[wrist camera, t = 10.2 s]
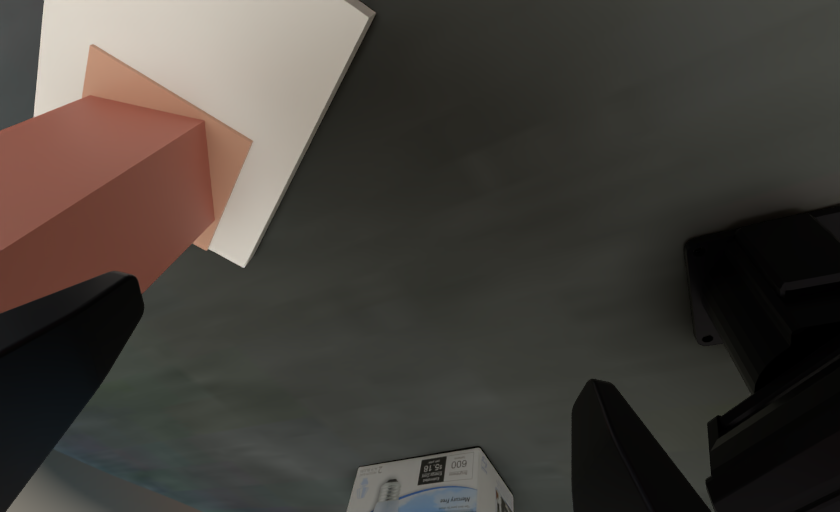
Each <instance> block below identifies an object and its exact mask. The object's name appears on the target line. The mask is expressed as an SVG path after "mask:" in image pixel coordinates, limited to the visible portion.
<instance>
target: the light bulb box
mask: <svg viewBox="0 0 840 512" xmlns="http://www.w3.org/2000/svg"><path fill="white" fill-rule="evenodd" d="M347 512H513V495H512V493H511V492H510V491H509V489H508V488H507V486H506V485H505V483H504V482H503V480H502V479H501V477H500V476H499V475H498V473H497V472H496V470H495V469H494V467H493V466H492V464H491V463H490V461H489V460H488V458H487V457H486V456H485V454H484V453H483V451H482V450H481V449H480V448H473V449H467V450H461V451H454V452H448V453H443V454H437V455H430V456H424V457H418V458H412V459H406V460H400V461H394V462H387V463H381V464H375V465H369V466H363V467H359V468H358V472H357V475H356V479H355V483H354V486H353V490H352V493H351V497H350V501H349V505H348V508H347Z"/></svg>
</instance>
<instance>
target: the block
mask: <svg viewBox="0 0 840 512" xmlns="http://www.w3.org/2000/svg"><path fill="white" fill-rule="evenodd" d="M214 221H215V217H214V207H213V197H212V188H211V178H210V168H209V158H208V148H207V139H206V129H205V121H204V120H200V119H195V118H191V117H186V116H182V115H177V114H173V113H168V112H164V111H159V110H155V109H150V108H146V107H141V106H137V105H132V104H128V103H123V102H119V101H114V100H110V99H105V98H101V97H96V96H92V95H89V96H86V97H84V98H81V99H79V100H76V101H74V102H71V103H69V104H66V105H64V106H61V107H59V108H56V109H54V110H51V111H49V112H46V113H44V114H41V115H39V116H36V117H34V118H31V119H29V120H26V121H24V122H21V123H19V124H16V125H14V126H11V127H8V128H6V129H3V130H1V131H0V313H3V312H5V311H8V310H10V309H13V308H16V307H18V306H21V305H23V304H26V303H29V302H31V301H34V300H37V299H39V298H42V297H44V296H47V295H50V294H52V293H55V292H57V291H60V290H63V289H65V288H68V287H71V286H73V285H76V284H78V283H81V282H84V281H86V280H89V279H91V278H94V277H97V276H99V275H102V274H104V273H107V272H110V271H120V272H124V273H129V274H133V275H135V276H136V277H137V279H138V281H139V285H140V290H141V294H143V293H144V291H145V290H146V289H147V288H148V287H149V286H150V285H151V284H152V283H153V282H154V281H155V280H156V279H157V278H158V277H159V276H160V275H161V274H162V273H163V272H164V271H165V270H166V269H167V268H168V267H169V266H170V265H171V264H172V263H173V262H174V261H175V260H176V259H177V258H178V257H179V256H180V255H181V254H182V253H183V252H184V251H185V250H186V249H187V248H188V247H189V246H190V245H191V244H192V243H193V242H194V241H195V240H196V239H197V238H198V237H199V236H200V235H201V234H202V233H203V232H204V231H205V230H206V229H207V228H208V227H209V226H210V225H211V224H212V223H213V222H214Z"/></svg>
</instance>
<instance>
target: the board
mask: <svg viewBox="0 0 840 512" xmlns="http://www.w3.org/2000/svg"><path fill="white" fill-rule="evenodd" d="M375 14H376V12H374V11H373V10H371V9H370V8H369V7H367V6H366V5H364V4H363V3H362V2H360V1H359V0H44V8H43V20H42V31H41V42H40V53H39V64H38V75H37V86H36V97H35V108H34V117H36V116H39V115H41V114H44V113H46V112H49V111H51V110H54V109H56V108H59V107H61V106H64V105H66V104H69V103H71V102H74V101H76V100H79V99H81V98H84V97H86V96H89V95H92V96H96V97H101V98H105V99H110V100H114V101H119V102H123V103H128V104H132V105H137V106H141V107H146V108H150V109H155V110H159V111H164V112H168V113H173V114H177V115H182V116H186V117H191V118H195V119H200V120H204V121H205V129H206V139H207V148H208V158H209V168H210V178H211V188H212V197H213V207H214V217H215V221H214V222H213V223H212V224H211V225H210V226H209V227H208V228H207V229H206V230H205V231H204V232H203V233H202V234H201V235H200V236H199V237H198V238H197V239H196V240H195V241H194V242H193V244H194V245H196V246H198V247H200V248H202V249H204V250H206V251H207V250H208V249H210V250H212V251H213V252H215V253H217V254H219V255H221V256H223V257H224V258H226V259H228V260H230V261H232V262H234V263H236V264H237V265H239V266H241V267H243V268H245V266H246V265H247V264H248V262H249V261H250V260H251V258H252V257H253V256H254V254H255V252H256V250H257V248H258V246H259V244H260V242H261V240H262V238H263V236H264V234H265V232H266V230H267V228H268V226H269V224H270V222H271V220H272V218H273V216H274V214H275V212H276V210H277V208H278V206H279V204H280V203H281V201H282V199H283V197H284V195H285V193H286V191H287V189H288V187H289V185H290V183H291V181H292V179H293V177H294V175H295V173H296V171H297V169H298V167H299V165H300V163H301V161H302V159H303V157H304V155H305V153H306V151H307V149H308V147H309V145H310V143H311V141H312V139H313V137H314V135H315V133H316V131H317V129H318V127H319V125H320V123H321V121H322V119H323V117H324V115H325V113H326V111H327V109H328V108H329V106H330V104H331V102H332V100H333V98H334V96H335V94H336V92H337V90H338V88H339V86H340V84H341V82H342V80H343V78H344V76H345V74H346V72H347V70H348V68H349V66H350V64H351V62H352V60H353V58H354V56H355V54H356V52H357V50H358V48H359V46H360V44H361V42H362V40H363V38H364V36H365V34H366V32H367V30H368V28H369V26H370V24H371V22H372V20H373V18H374V16H375Z"/></svg>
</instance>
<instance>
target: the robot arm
mask: <svg viewBox="0 0 840 512" xmlns="http://www.w3.org/2000/svg"><path fill="white" fill-rule="evenodd" d="M699 247H702V249H701V250H699V251H697V252H693V251H694V250H695V249H696V248H699ZM684 255H685V263H686V271H687V280H688V288H689V297H690V305H691V314H692V322H693V331H694V336H695V338H696V340H697V342H698V344H700V345H703V346H710V345H716V344H723V343H724V345H725V347H726V349H727V351H728V352H729V354H730V356H731V358H732V360H733V362H734V363H735V365H736V367H737V369H738V371H739V373H740V374H741V376H742V378H743V380H744V382H745V383H746V385H747V387H748V389H749V391H750V393H751V394H752V395H751V396H750V397H748V398H747V399H745V400H744V401H742V402H741V403H740V404H738V405H737V406H735V407H734V408H732V409H731V410H730V411H728V412H727V413H725V414H724V415H722V416H719V415H718V416H716V417H715V418H713V419H712V420H710V421H709V422H708V423H707V426H708V440H709V453H710V466H711V476H710V477H708V478H707V479H706V489H707V492H708V495H709V497H710V500H711V503H712V506H713V509H714V511H715V512H840V206H838V207H833V208H829V209H824V210H820V211H815V212H811V213H804V214H799V215H795V216H790V217H786V218H781V219H777V220H772V221H768V222H763V223H759V224H754V225H750V226H745V227H741V228H739V229H734V230H730V231H725V232H721V233H716V234H712V235H707V236H703V237H699V238H694V239H692V240H690V241H688V242H687V243H686V245H685V246H684ZM143 312H144V302H143V298H142V294H141V290H140V285H139V281H138V279H137V277H136V276H135V275H133V274H129V273H124V272H120V271H110V272H107V273H104V274H102V275H99V276H97V277H94V278H91V279H89V280H86V281H84V282H81V283H78V284H76V285H73V286H71V287H68V288H65V289H63V290H60V291H57V292H55V293H52V294H50V295H47V296H44V297H42V298H39V299H37V300H34V301H31V302H29V303H26V304H23V305H21V306H18V307H16V308H13V309H10V310H8V311H5V312H3V313H0V512H6V511H7V509H8V508H9V507H10V505H11V504H12V503H13V501H14V500H15V499H16V497H17V496H18V495H19V493H20V492H21V491H22V489H23V488H24V487H25V485H26V484H27V483H28V481H29V480H30V479H31V477H32V476H33V475H34V473H35V472H36V471H37V469H38V468H39V467H40V465H41V464H42V463H43V461H44V460H45V459H46V457H47V456H48V455H49V453H50V452H51V451H52V449H53V448H54V447H55V445H56V444H57V443H58V441H59V440H60V439H61V437H62V436H63V435H64V433H65V432H66V431H67V429H68V428H69V427H70V425H71V424H72V423H73V421H74V420H75V419H76V417H77V416H78V415H79V413H80V412H81V411H82V409H83V408H84V407H85V405H86V404H87V403H88V401H89V400H90V399H91V397H92V396H93V395H94V393H95V392H96V391H97V389H98V388H99V386H100V385H101V384H102V382H103V380H104V379H105V377H106V376H107V374H108V373H109V371H110V369H111V368H112V366H113V364H114V363H115V361H116V359H117V358H118V356H119V354H120V353H121V351H122V349H123V348H124V346H125V344H126V343H127V341H128V339H129V338H130V336H131V334H132V333H133V331H134V329H135V328H136V326H137V324H138V323H139V321H140V319H141V317H142V315H143ZM706 335H708V336H706ZM704 336H706V337H704ZM571 479H572V500H573V510H574V512H711V511H710V509H709V508H708V507H707V505H706V504H705V503H704V502H703V500H702V499H701V498H700V496H699V495H698V494H697V492H696V491H695V490H694V489H693V487H692V486H691V485H690V483H689V482H688V481H687V479H686V478H685V477H684V476H683V474H682V473H681V472H680V470H679V469H678V468H677V466H676V465H675V464H674V463H673V461H672V460H671V459H670V457H669V456H668V455H667V453H666V452H665V451H664V449H663V448H662V447H661V446H660V444H659V443H658V442H657V440H656V439H655V438H654V436H653V435H652V434H651V433H650V431H649V430H648V429H647V427H646V426H645V425H644V423H643V422H642V421H641V420H640V418H639V417H638V416H637V414H636V413H635V412H634V410H633V409H632V408H631V407H630V405H629V404H628V403H627V401H626V400H625V399H624V397H623V396H622V395H621V394H620V392H619V391H618V390H617V388H616V387H615V386H614V385H613V384H612V383H610V382H606V381H602V380H597V379H590V380H589V381H588V382H587V383H586V384H585V386H584V388H583V390H582V391H581V393H580V395H579V396H578V398H577V400H576V401H575V403H574V405H573V409H572V475H571Z"/></svg>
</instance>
